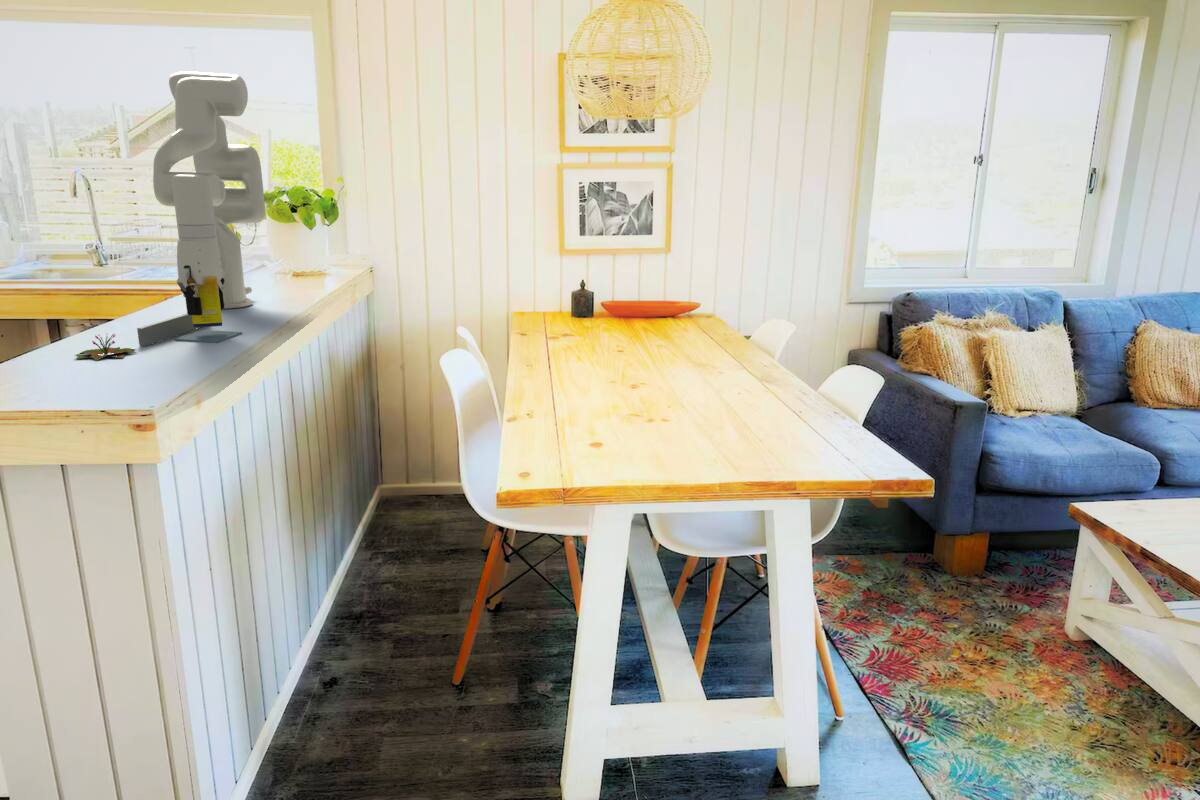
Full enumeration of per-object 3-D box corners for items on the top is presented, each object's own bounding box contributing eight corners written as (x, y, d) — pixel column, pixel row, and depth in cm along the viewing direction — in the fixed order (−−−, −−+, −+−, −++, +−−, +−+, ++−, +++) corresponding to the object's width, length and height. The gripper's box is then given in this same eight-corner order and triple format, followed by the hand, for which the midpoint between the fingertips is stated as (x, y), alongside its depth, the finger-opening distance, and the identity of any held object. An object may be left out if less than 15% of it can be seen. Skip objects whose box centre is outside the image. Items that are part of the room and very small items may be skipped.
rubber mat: (201, 331, 187) (201, 329, 187) (242, 333, 186) (241, 331, 186) (175, 340, 177) (174, 338, 177) (217, 342, 176) (217, 341, 176)
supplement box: (193, 323, 182) (187, 274, 179) (222, 321, 185) (217, 274, 182) (192, 327, 177) (186, 278, 174) (222, 326, 179) (217, 277, 176)
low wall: (205, 325, 194) (203, 308, 193) (208, 325, 194) (206, 309, 193) (139, 346, 171) (137, 328, 170) (144, 346, 171) (141, 328, 170)
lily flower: (62, 364, 157) (58, 342, 156) (85, 350, 168) (82, 329, 167) (129, 363, 160) (125, 340, 158) (147, 349, 171) (144, 328, 170)
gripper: (204, 229, 184) (212, 304, 189) (155, 235, 167) (166, 317, 172) (235, 230, 183) (242, 305, 188) (189, 236, 166) (199, 319, 171)
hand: (206, 311), depth 180 cm, fingers closed on supplement box, 8 cm apart
